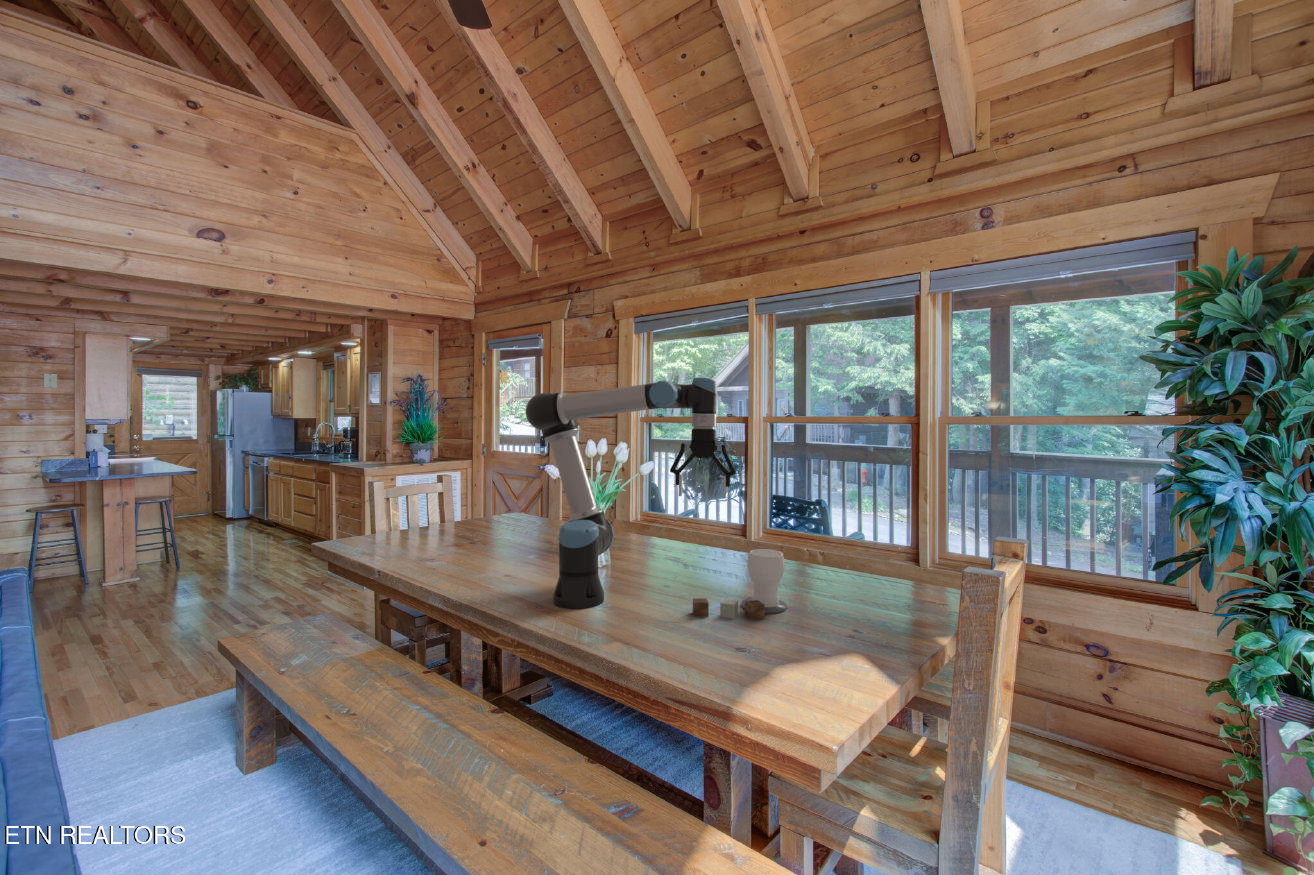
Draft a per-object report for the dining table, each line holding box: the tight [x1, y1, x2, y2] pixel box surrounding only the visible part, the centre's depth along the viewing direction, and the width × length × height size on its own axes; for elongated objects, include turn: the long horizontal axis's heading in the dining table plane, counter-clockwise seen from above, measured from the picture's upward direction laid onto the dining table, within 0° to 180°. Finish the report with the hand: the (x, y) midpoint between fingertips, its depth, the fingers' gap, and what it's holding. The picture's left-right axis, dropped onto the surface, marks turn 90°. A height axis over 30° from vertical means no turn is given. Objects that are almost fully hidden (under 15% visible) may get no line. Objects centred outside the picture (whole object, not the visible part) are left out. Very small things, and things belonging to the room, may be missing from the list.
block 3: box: [744, 600, 766, 621], centre depth 162 cm, size 4×4×4 cm
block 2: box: [719, 598, 739, 620], centre depth 163 cm, size 4×4×4 cm
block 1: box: [692, 597, 710, 618], centre depth 164 cm, size 4×4×4 cm
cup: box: [747, 548, 786, 607], centre depth 171 cm, size 11×11×15 cm
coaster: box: [740, 596, 787, 615], centre depth 171 cm, size 13×13×1 cm
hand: (702, 496), depth 182 cm, fingers open, 13 cm apart
